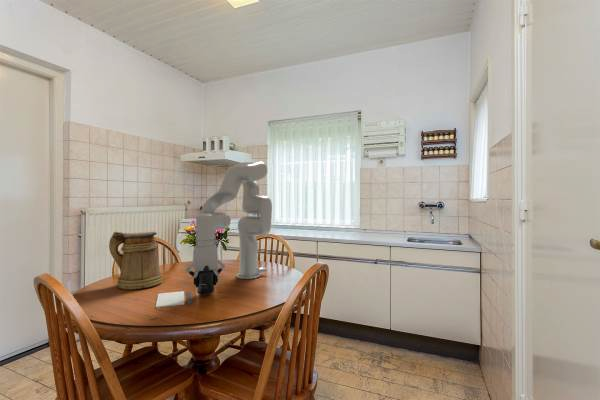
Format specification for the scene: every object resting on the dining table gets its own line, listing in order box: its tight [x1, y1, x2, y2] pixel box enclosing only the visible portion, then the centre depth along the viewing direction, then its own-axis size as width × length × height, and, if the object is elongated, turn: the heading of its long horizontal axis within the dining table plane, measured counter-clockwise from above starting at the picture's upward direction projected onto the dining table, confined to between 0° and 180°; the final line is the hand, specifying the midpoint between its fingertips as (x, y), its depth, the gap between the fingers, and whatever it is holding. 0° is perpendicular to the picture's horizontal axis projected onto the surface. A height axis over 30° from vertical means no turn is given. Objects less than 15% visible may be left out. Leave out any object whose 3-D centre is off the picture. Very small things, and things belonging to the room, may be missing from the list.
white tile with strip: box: [155, 290, 193, 309], centre depth 119 cm, size 13×16×1 cm
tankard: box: [108, 231, 164, 290], centre depth 139 cm, size 18×24×25 cm
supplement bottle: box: [196, 266, 215, 296], centre depth 124 cm, size 7×7×12 cm
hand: (205, 285), depth 124 cm, fingers closed on supplement bottle, 6 cm apart
